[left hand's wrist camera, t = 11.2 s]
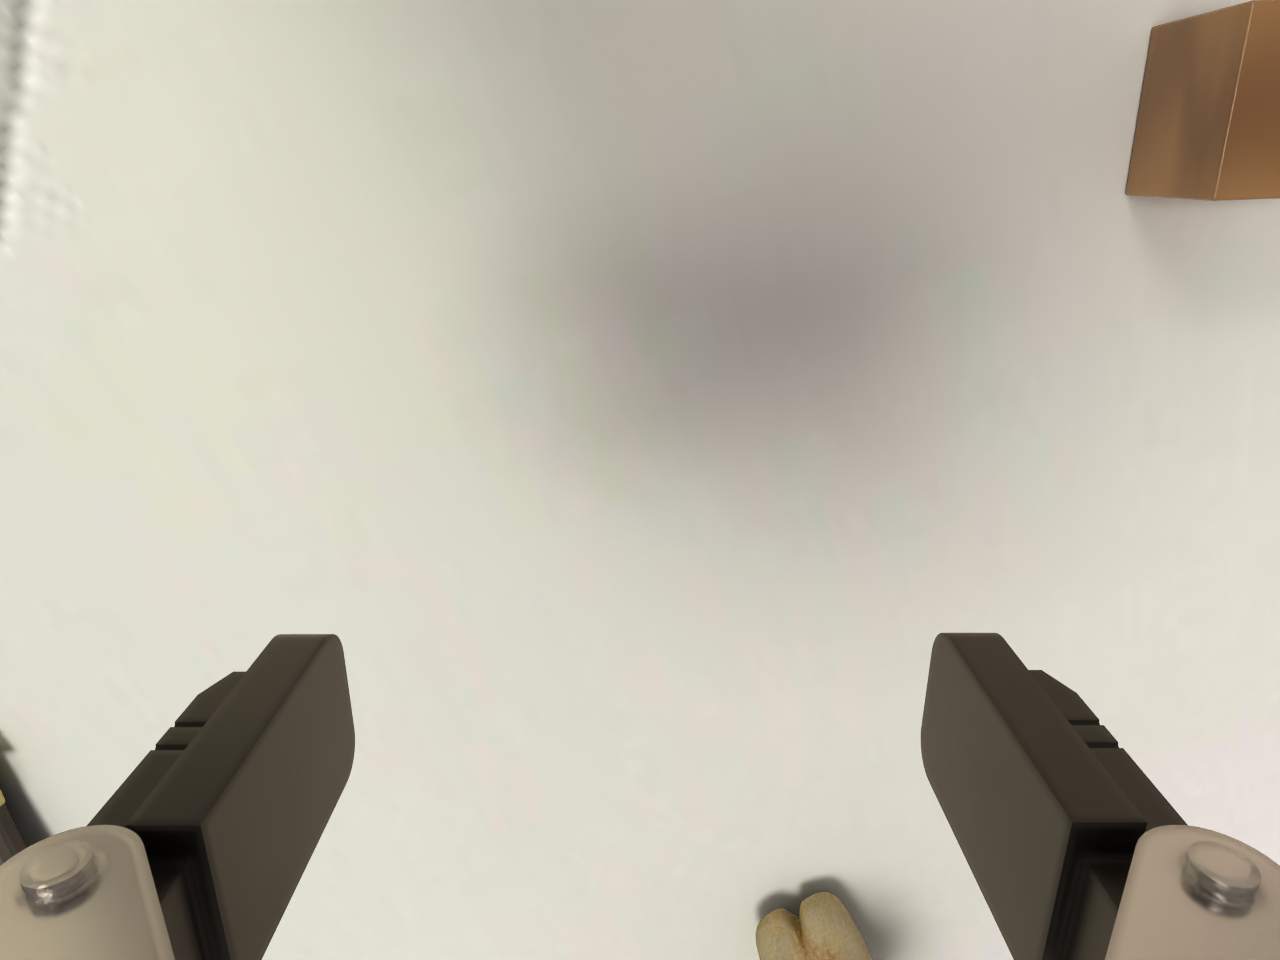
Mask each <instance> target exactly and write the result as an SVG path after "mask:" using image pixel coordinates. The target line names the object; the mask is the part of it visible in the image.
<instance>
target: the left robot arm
mask: <svg viewBox="0 0 1280 960" xmlns="http://www.w3.org/2000/svg"><path fill="white" fill-rule="evenodd" d="M354 749H355V732H354V724H353V717H352V709H351V702H350V695H349V688H348V681H347V673H346V666H345V659H344V652H343V647H342V644H341V641H340V639H339V638H338V636H336V635H334V634H280V635H277V636H275V637H274V638H273V639H272V640H271V641H270V643H269V644H268V645H267V646H266V648H265V649H264V650H263V651H262V653H261V654H260V655H259V656H258V658H257V659H256V660H255V661H254V663H253V664H252V665H251V667H250V668H249V669H248V670H247V672H232V673H231V674H229V675H228V676H226V677H225V678H223V679H222V680H220V681H218V682H217V683H215V684H214V685H212V686H211V687H209V688H208V689H206V690H205V691H203V692H202V693H200V694H199V695H197V697H196V698H195V699H194V700H193V701H192V702H191V704H190V705H189V706H188V707H187V708H186V710H185V711H184V712H183V713H182V714H181V715H180V717H179V718H178V719H177V720H176V721H175V727H170V728H169V730H168V731H167V732H166V733H165V734H164V735H163V737H162V738H161V739H160V740H159V741H158V743H157V744H156V749H155V750H151V751H150V752H149V753H148V754H147V755H146V757H145V758H144V759H143V760H142V761H141V763H140V764H139V765H138V766H137V767H136V768H135V770H134V771H133V772H132V773H131V774H130V776H129V777H128V778H127V779H126V780H125V781H124V783H123V784H122V785H121V786H120V787H119V788H118V790H117V791H116V792H115V793H114V794H113V796H112V797H111V798H110V799H109V800H108V801H107V803H106V804H105V805H104V806H103V807H102V809H101V810H100V811H99V812H98V813H97V814H96V816H95V817H94V818H93V819H92V820H91V821H90V823H89V824H88V825H87V826H86V827H80V828H76V829H72V830H68V831H65V832H62V833H59V834H56V835H53V836H51V837H48V838H46V839H44V840H41V841H39V842H37V843H35V844H33V845H31V846H29V847H27V848H26V849H24V850H22V851H21V852H19V853H18V854H16V855H14V856H13V857H11V858H10V859H9V860H7V861H6V862H5V863H3V864H2V865H1V866H0V960H261V959H262V957H263V955H264V953H265V951H266V949H267V947H268V945H269V943H270V941H271V939H272V937H273V935H274V933H275V930H276V928H277V926H278V924H279V922H280V920H281V918H282V916H283V914H284V912H285V910H286V908H287V906H288V903H289V901H290V899H291V897H292V895H293V893H294V891H295V889H296V887H297V885H298V883H299V881H300V879H301V876H302V874H303V872H304V870H305V868H306V866H307V864H308V862H309V860H310V858H311V856H312V854H313V852H314V850H315V847H316V845H317V843H318V841H319V839H320V837H321V835H322V833H323V831H324V829H325V827H326V825H327V823H328V820H329V818H330V816H331V814H332V812H333V810H334V808H335V806H336V804H337V802H338V800H339V798H340V796H341V793H342V791H343V789H344V787H345V785H346V783H347V781H348V778H349V775H350V772H351V768H352V764H353V758H354ZM921 751H922V759H923V764H924V768H925V772H926V775H927V778H928V780H929V782H930V784H931V786H932V788H933V791H934V793H935V795H936V797H937V799H938V801H939V803H940V805H941V807H942V809H943V812H944V814H945V816H946V818H947V820H948V822H949V824H950V826H951V828H952V831H953V833H954V835H955V837H956V839H957V841H958V843H959V845H960V847H961V849H962V852H963V854H964V856H965V858H966V860H967V862H968V864H969V866H970V868H971V870H972V873H973V875H974V877H975V879H976V881H977V883H978V885H979V887H980V889H981V891H982V894H983V896H984V898H985V900H986V902H987V904H988V906H989V908H990V910H991V912H992V915H993V917H994V919H995V921H996V923H997V925H998V927H999V929H1000V931H1001V933H1002V936H1003V938H1004V940H1005V942H1006V944H1007V946H1008V948H1009V950H1010V952H1011V954H1012V957H1013V959H1014V960H1280V866H1279V865H1278V864H1277V863H1275V862H1274V861H1273V860H1271V859H1270V858H1269V857H1267V856H1266V855H1264V854H1262V853H1261V852H1259V851H1258V850H1256V849H1254V848H1253V847H1251V846H1249V845H1247V844H1245V843H1243V842H1241V841H1239V840H1236V839H1234V838H1232V837H1229V836H1227V835H1224V834H1221V833H1218V832H1215V831H1212V830H1208V829H1204V828H1200V827H1194V826H1188V825H1187V824H1186V823H1185V821H1184V820H1183V819H1182V818H1181V817H1180V815H1179V814H1178V813H1177V812H1176V811H1175V810H1174V808H1173V807H1172V806H1171V805H1170V804H1169V802H1168V801H1167V800H1166V799H1165V798H1164V796H1163V795H1162V794H1161V793H1160V792H1159V791H1158V789H1157V788H1156V787H1155V786H1154V785H1153V783H1152V782H1151V781H1150V780H1149V779H1148V777H1147V776H1146V775H1145V774H1144V773H1143V771H1142V770H1141V769H1140V768H1139V767H1138V766H1137V764H1136V763H1135V762H1134V761H1133V760H1132V758H1131V757H1130V756H1129V755H1128V754H1127V752H1126V751H1125V750H1124V749H1123V748H1119V747H1118V742H1117V741H1116V739H1115V738H1114V737H1113V736H1112V735H1111V733H1110V732H1109V731H1108V730H1107V729H1106V727H1105V726H1104V725H1100V724H1099V719H1098V718H1097V717H1096V716H1095V714H1094V713H1093V712H1092V711H1091V710H1090V708H1089V707H1088V706H1087V705H1086V704H1085V703H1084V701H1083V700H1082V699H1081V698H1080V697H1079V695H1078V694H1077V693H1076V692H1074V691H1073V690H1071V689H1070V688H1068V687H1066V686H1065V685H1063V684H1062V683H1060V682H1059V681H1057V680H1056V679H1054V678H1053V677H1051V676H1050V675H1048V674H1047V673H1045V672H1044V671H1042V670H1028V669H1027V668H1026V667H1025V665H1024V664H1023V663H1022V661H1021V660H1020V659H1019V658H1018V656H1017V655H1016V654H1015V653H1014V651H1013V650H1012V649H1011V647H1010V646H1009V645H1008V644H1007V642H1006V641H1005V640H1004V638H1003V637H1002V636H1001V635H999V634H997V633H940V634H939V635H937V637H936V639H935V641H934V644H933V648H932V654H931V662H930V669H929V676H928V683H927V691H926V698H925V705H924V713H923V720H922V728H921Z"/></svg>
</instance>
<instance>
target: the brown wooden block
mask: <svg viewBox="0 0 1280 960" xmlns="http://www.w3.org/2000/svg"><path fill="white" fill-rule="evenodd" d="M1126 194H1127V195H1137V196H1152V197H1167V198H1182V199H1198V200H1213V201H1216V200H1245V199H1274V198H1280V0H1253V1H1249V2H1245V3H1242V4H1238V5H1234V6H1230V7H1227V8H1223V9H1219V10H1215V11H1211V12H1208V13H1204V14H1200V15H1196V16H1193V17H1189V18H1185V19H1181V20H1177V21H1174V22H1170V23H1166V24H1162V25H1159V26H1155V27H1153V29H1152V33H1151V40H1150V46H1149V52H1148V58H1147V64H1146V71H1145V77H1144V83H1143V89H1142V95H1141V101H1140V108H1139V114H1138V120H1137V126H1136V132H1135V138H1134V145H1133V151H1132V157H1131V163H1130V169H1129V176H1128V182H1127V188H1126Z"/></svg>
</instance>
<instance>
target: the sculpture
mask: <svg viewBox="0 0 1280 960" xmlns="http://www.w3.org/2000/svg"><path fill="white" fill-rule="evenodd" d="M756 945H757V949H758V954H759V958H760V960H873V959H872V957H871V955H870V952H869V950H868V948H867V946H866V944H865V941H864V939H863V938H862V936H861V934H860V932H859V930H858V928H857V927H856V925H855V923H854V921H853V919H852V917H851V916H850V914H849V912H848V911H847V909H846V908H845V906H844V905H843V903H842V902H841V901H840V900H839V898H837V897H836V896H835V895H833V894H831V893H828V892H819V893H815V894H813V895H811V896H809V897H808V898H806V899H805V900H803V901H802V903H801V905H800V915H799V916H796V915H794V914H792V913H791V912H789V911H787V910H786V909H775V910H773V911H772V912H770V913H769V914H768V915H766V916H765V917H764V918H763V919H762V920H761V921H760V922H759V924H758V926H757V930H756Z"/></svg>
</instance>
